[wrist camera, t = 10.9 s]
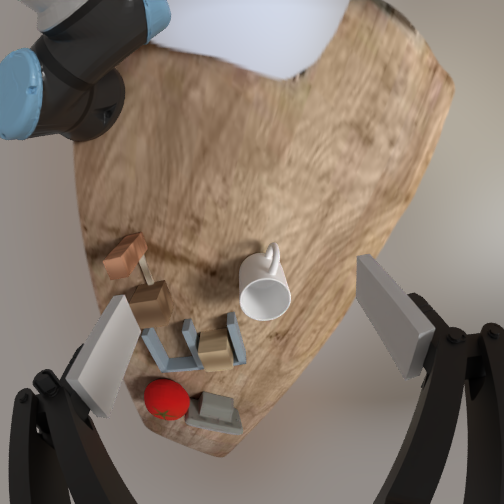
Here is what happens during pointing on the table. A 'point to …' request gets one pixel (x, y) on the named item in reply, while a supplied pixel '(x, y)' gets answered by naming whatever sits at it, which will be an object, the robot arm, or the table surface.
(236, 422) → the digital clock
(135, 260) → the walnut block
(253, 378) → the table surface
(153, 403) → the tomato
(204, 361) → the oak block
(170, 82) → the table surface
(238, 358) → the lane shelf
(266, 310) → the cup
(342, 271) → the table surface
